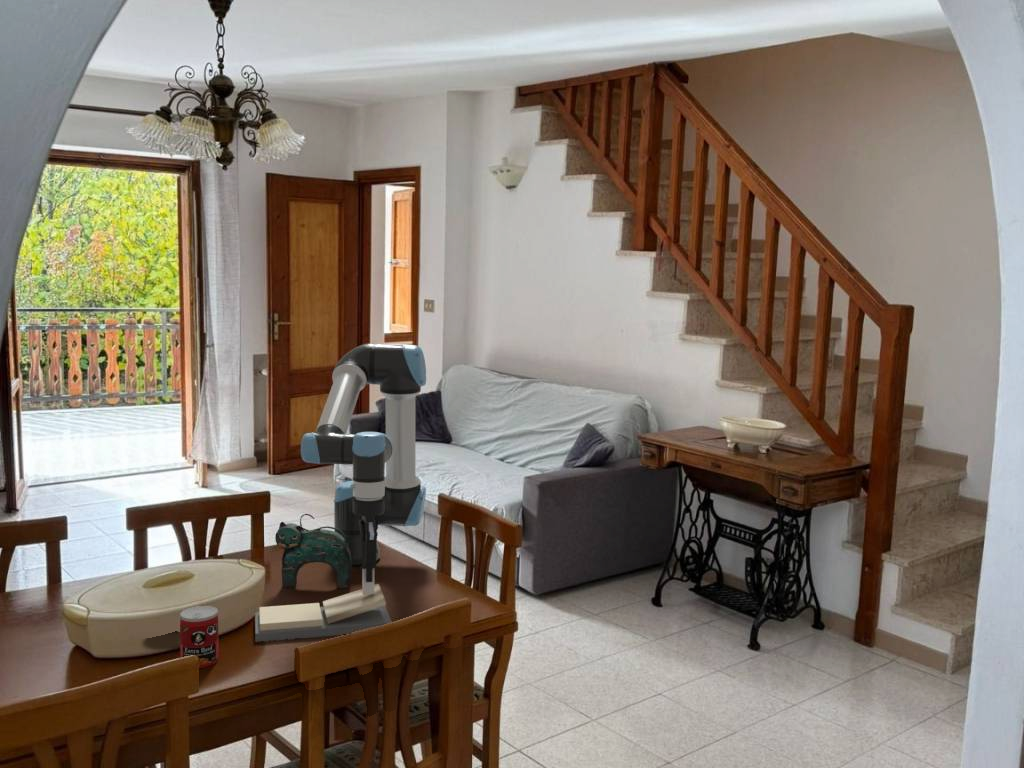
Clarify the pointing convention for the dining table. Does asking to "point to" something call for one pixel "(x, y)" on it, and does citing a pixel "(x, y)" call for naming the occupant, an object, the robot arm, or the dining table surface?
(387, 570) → the dining table surface
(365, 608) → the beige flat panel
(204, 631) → the canned food
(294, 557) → the ceramic cat
